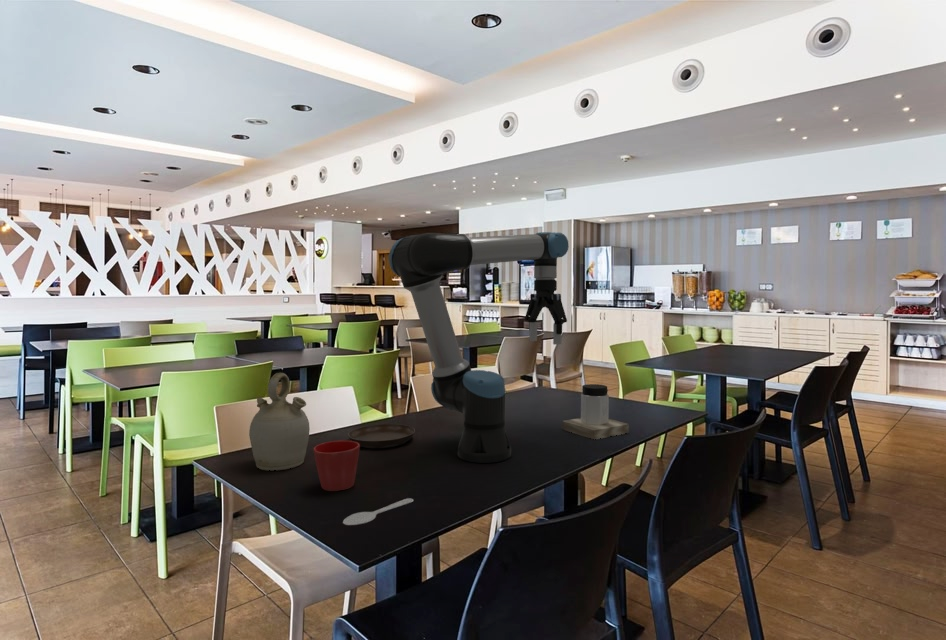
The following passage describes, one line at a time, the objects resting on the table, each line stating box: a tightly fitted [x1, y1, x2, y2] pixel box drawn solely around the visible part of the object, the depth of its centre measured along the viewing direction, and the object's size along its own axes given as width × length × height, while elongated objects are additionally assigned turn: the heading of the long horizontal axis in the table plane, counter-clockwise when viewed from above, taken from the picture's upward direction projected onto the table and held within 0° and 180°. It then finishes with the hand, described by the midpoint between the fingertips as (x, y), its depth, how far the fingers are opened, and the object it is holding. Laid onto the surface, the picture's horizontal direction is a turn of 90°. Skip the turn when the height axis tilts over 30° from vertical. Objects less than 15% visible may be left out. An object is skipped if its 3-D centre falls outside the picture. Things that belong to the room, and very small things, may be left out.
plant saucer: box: [347, 423, 416, 449], centre depth 173 cm, size 21×21×3 cm
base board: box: [562, 417, 630, 441], centre depth 183 cm, size 15×15×3 cm
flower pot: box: [313, 440, 361, 492], centre depth 133 cm, size 11×11×10 cm
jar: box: [580, 383, 610, 425], centre depth 183 cm, size 9×8×12 cm
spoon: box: [342, 497, 414, 526], centre depth 118 cm, size 5×18×1 cm, turn 137°
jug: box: [248, 372, 310, 472], centre depth 150 cm, size 15×16×25 cm
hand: (544, 342), depth 186 cm, fingers open, 13 cm apart
